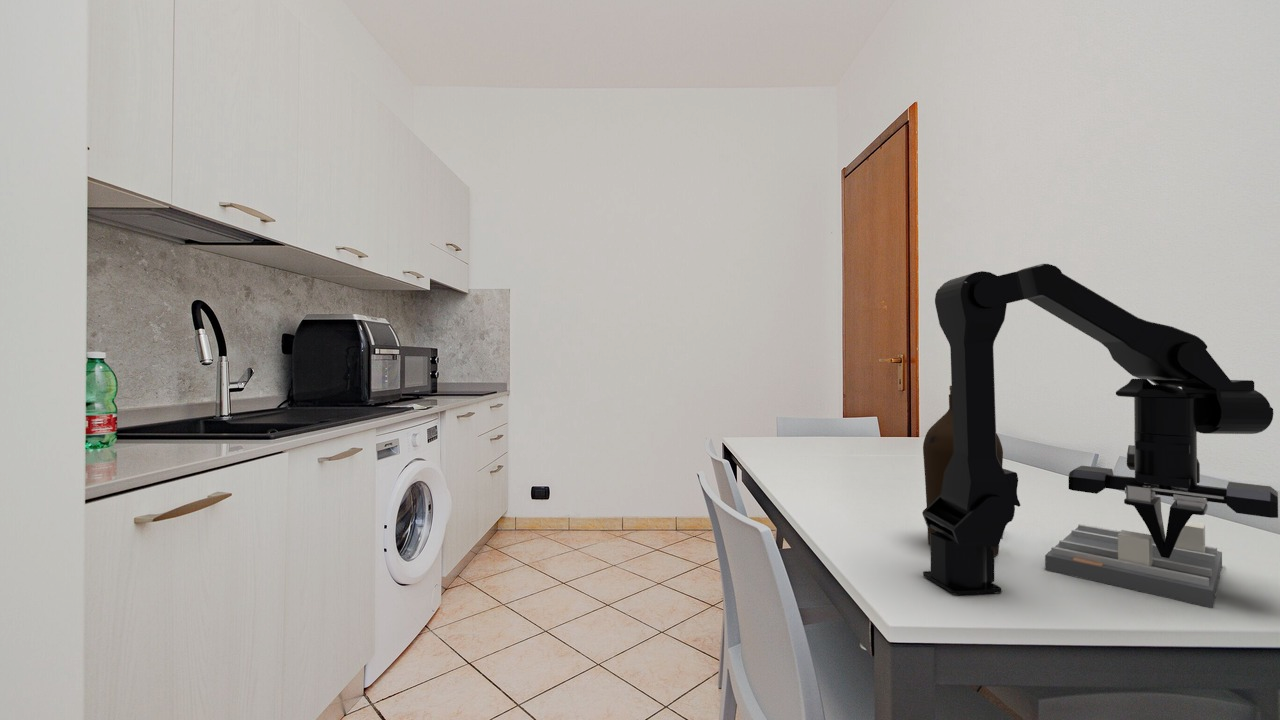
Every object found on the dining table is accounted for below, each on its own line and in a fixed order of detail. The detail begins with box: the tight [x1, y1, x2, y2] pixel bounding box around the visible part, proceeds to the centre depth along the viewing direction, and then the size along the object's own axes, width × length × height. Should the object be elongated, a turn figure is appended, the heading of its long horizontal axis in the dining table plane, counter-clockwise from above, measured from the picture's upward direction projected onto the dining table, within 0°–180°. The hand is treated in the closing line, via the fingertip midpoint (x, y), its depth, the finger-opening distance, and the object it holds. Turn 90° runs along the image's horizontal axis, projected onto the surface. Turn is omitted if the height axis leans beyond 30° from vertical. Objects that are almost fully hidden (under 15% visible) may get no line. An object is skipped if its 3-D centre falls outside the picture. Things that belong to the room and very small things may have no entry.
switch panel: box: [1044, 523, 1223, 609], centre depth 76 cm, size 20×16×3 cm
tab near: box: [1118, 529, 1153, 566], centre depth 72 cm, size 3×3×4 cm
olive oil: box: [922, 385, 1004, 557], centre depth 85 cm, size 11×11×25 cm
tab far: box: [1174, 521, 1206, 553], centre depth 77 cm, size 3×3×4 cm
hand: (1165, 557), depth 70 cm, fingers closed
